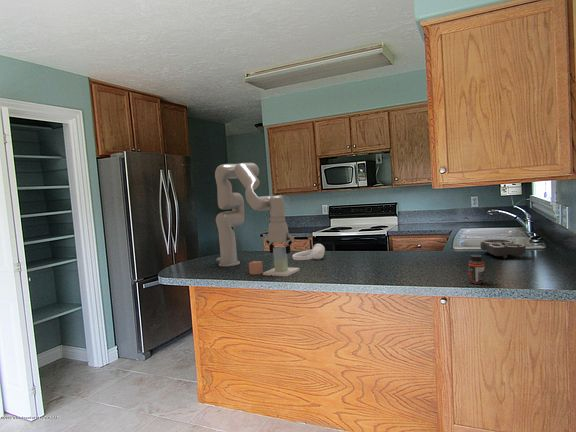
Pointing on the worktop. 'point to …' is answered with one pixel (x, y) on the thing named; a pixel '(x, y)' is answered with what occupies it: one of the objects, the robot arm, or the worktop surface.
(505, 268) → the worktop surface
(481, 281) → the supplement bottle
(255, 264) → the brick top
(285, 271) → the plate
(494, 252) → the motorcycle dashboard
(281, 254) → the brick mid
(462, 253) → the worktop surface
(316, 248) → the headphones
